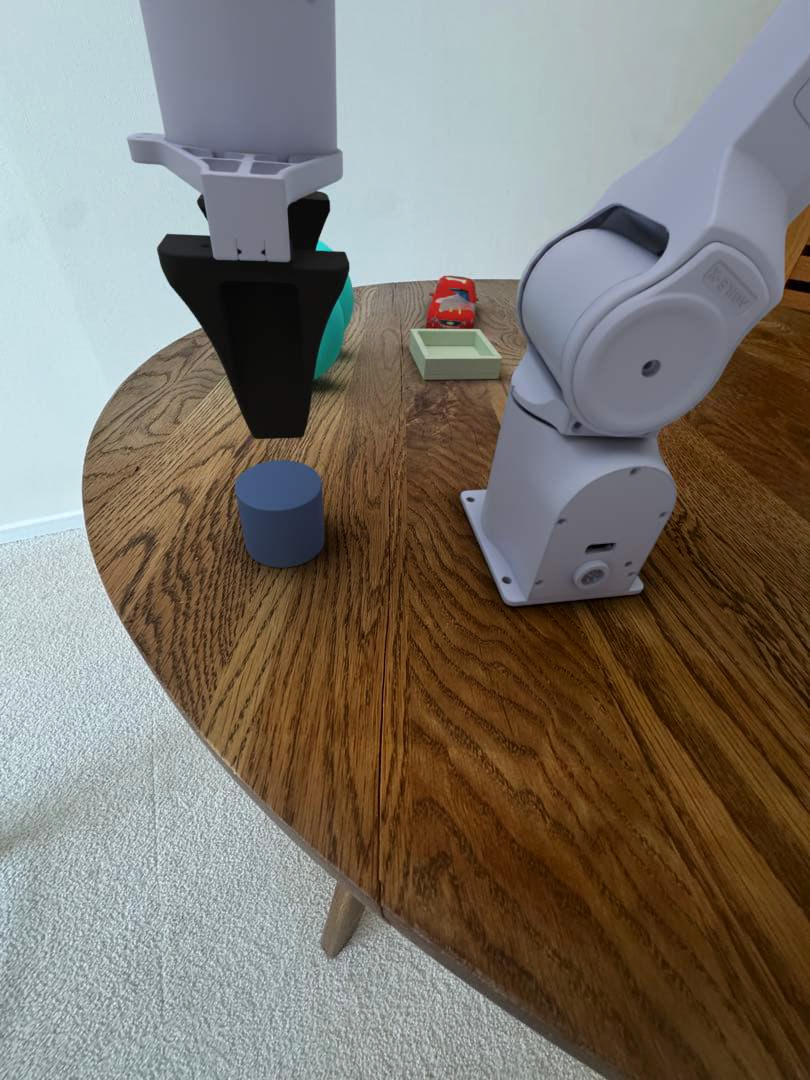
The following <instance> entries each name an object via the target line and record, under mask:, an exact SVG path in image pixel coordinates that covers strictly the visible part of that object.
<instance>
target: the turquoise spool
mask: <svg viewBox="0 0 810 1080" xmlns="http://www.w3.org/2000/svg"><path fill="white" fill-rule="evenodd" d="M316 251H334V250H333V249H332V248H331V247H329V245H327V244H326V243H325V242H323V241H322V240H320V239H319V241H318V244H317V247H316ZM354 296H355V294H354V287H353V284H352V280H351V277H350V274H348V277H347V280H346V283H345V286H344V289H343V291H342V293H341V295H340V297H339V299H338V300H337V302H336V304H335V306H334V308H333V311H332V313H331V315H330V317H329V320H328V323H327V325H326V328H325V331H324V334H323V337H322V341H321V344H320V348H319V353H318V357H317V362H316V368H315V375H314V381H315V380H317V379H319V378H320V377H322V376H323V375H324V374H326V373H327V372H328V371H329V370H330V369H331V368H332V367H333V365H334V364H335V362H336V361H337V359H338V357H339V355H340V353H341V351H342V347H343V344H344V338H345V333H346V331H347V329H348V327H349V325H350V324H351V323H350V322H351V320H352V317H353V313H354V306H355V297H354Z"/></svg>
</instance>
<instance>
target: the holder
mask: <svg viewBox="0 0 810 1080" xmlns="http://www.w3.org/2000/svg"><path fill="white" fill-rule="evenodd" d="M408 340H409V341H408V350H409V352H410V354H411V357H412V359H413V361H414V362H415V364H416V367H417V369H418V371H419V374H420V376H421V377H422V379H423V381H430V380H431V381H434V380H435V381H438V380H443V381H444V380H448V381H449V380H499V378H500V373H501V367H502V363H503V357H502V356H501V354H500V353H499V352H498V350H497V349H496V348H495V346H494V345H493V344H492V343H491V342H490V340H489V338H487V336H486V334H484V333H483V331H482V329H480V328H473V329H426V328H410V329H409V339H408Z"/></svg>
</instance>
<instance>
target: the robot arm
mask: <svg viewBox="0 0 810 1080" xmlns="http://www.w3.org/2000/svg"><path fill="white" fill-rule="evenodd" d="M139 6H140V7H139V8H140V11H141V16H142V21H143V27H144V32H145V38H146V43H147V47H148V53H149V59H150V62H151V68H152V74H153V78H154V80H153V81H154V85H155V89H156V94H157V98H158V99H157V100H158V104H159V110H160V116H161V120H162V126H163V131H164V133H157V132H155V133H153V132H135V133H132V134H130V135H128V136H127V137H126V140H127V145H128V150H129V154H130V158H131V161H132V162H133V163H136V164H145V165H156V166H162V167H163V168H164V167H165V169H167V170H169V172H171V173H172V174H174V175H175V176H177V177H178V178H179V179H181V180H182V181H183V182H185V183H186V184H187V185H189V186H190V187H191V188H193V189H194V190H195V191H197V192H198V193H200V195H199V197H198V198H197V200H196V204H197V206H198V208H199V210H200V211H201V213H202V214H203V216H204V218H205V219H206V221H207V224H208V225H207V226H208V231H209V235H208V234H207V235H206V234H205V235H204V234H185V233H184V234H183V233H182V234H181V233H166V234H165V236H164V237H163V238H162V239H161V241H160V242H159V244H158V245H157V247H156V251H157V256H158V260H159V265H160V268H161V270H162V272H163V275H164V277H165V279H166V281H167V283H168V285H169V286H170V287H171V289H173V291H174V292H175V293H176V294H177V296H178V297H179V298H180V299H181V300H182V302H183V303H184V304H185V305H186V306H187V308H188V309H189V311H190V312H191V314H192V315H193V316H194V318H195V319H196V321H197V322H198V324H199V325H200V327H201V329H202V331H204V333H205V335H206V337H207V338H208V340H209V342H210V344H211V346H212V347H213V349H214V351H215V353H216V354H217V357H218V359H219V361H220V363H221V366H222V367H223V370H224V373H225V375H226V377H227V380H228V383H229V385H230V387H231V390H232V392H233V396H234V397H235V400H236V403H237V405H238V408H239V411H240V413H241V416H242V418H243V420H244V422H245V424H246V427H247V428H248V430H249V432H250V434H251V436H252V438H254V439H255V440H276V439H279V440H280V439H301V438H304V436H305V433H306V430H307V426H308V422H309V417H310V412H311V404H312V397H313V389H314V381H315V380H314V375H315V368H316V362H317V357H318V353H319V348H320V344H321V341H322V337H323V334H324V331H325V328H326V325H327V323H328V320H329V317H330V315H331V313H332V311H333V308H334V306H335V304H336V302H337V300H338V299H339V297H340V295H341V293H342V291H343V289H344V286H345V283H346V280H347V277H348V274H349V273H350V269H351V268H350V261H349V258H348V255H347V253H346V251H339V250H333V251H316V247H317V244H318V241H319V240H320V237H321V235H322V232H323V229H324V227H325V224H326V221H327V219H328V217H329V214H330V213H331V200H330V196H329V195H328V194H327V193H326V192H323V191H320V190H322V189H324V188H326V187H328V186H330V185H332V184H335V183H337V182H339V181H341V179H343V176H344V157H343V156H344V153H343V151H342V150H341V149H340V148H338V111H337V110H338V109H337V108H338V107H337V105H338V104H337V103H338V101H337V100H338V99H337V98H338V97H337V36H336V35H337V33H336V32H337V31H336V26H337V25H336V0H139ZM808 206H810V0H783V1H782V3H781V4H780V5H779V6H778V8H777V9H776V10H775V11H774V12H773V14H772V15H771V16H770V18H769V19H768V20H767V21H766V23H765V24H764V25H763V27H762V28H761V29H760V30H759V31H758V33H757V34H756V35H755V36H754V38H753V39H752V40H751V42H750V43H749V44H748V45H747V47H746V48H745V49H744V50H743V52H742V53H741V54H740V56H738V58H737V59H736V61H734V63H733V64H732V66H731V67H729V70H728V71H727V72H726V73H725V75H724V76H723V77H722V78H721V79H720V80H719V82H718V83H717V84H716V85H715V87H714V88H713V89H712V91H711V92H710V93H709V95H707V97H706V99H704V101H702V104H700V106H699V107H698V109H697V110H696V111H695V112H694V114H693V115H692V116H691V117H690V119H689V120H688V121H687V122H686V123H685V125H684V126H683V128H682V129H681V130H680V131H679V132H678V134H677V135H676V136H675V137H674V138H673V139H671V140H670V141H669V142H668V143H666V144H665V145H663V147H661V148H660V149H658V150H657V151H655V152H654V153H652V154H651V155H649V156H648V157H646V158H645V159H643V160H642V161H640V162H639V163H637V164H636V165H635V166H633V167H631V168H630V169H629V170H628V171H625V173H623V174H622V175H620V176H619V177H617V178H616V179H615V180H614V181H613V182H612V183H611V184H610V185H609V186H608V188H607V189H606V190H605V191H604V193H603V194H602V195H601V196H600V198H599V199H598V200H597V202H596V203H595V204H594V205H593V206H592V208H591V209H589V211H587V212H586V213H585V214H584V215H583V216H582V217H581V218H580V219H578V220H577V221H575V222H574V223H571V225H569V226H567V227H565V228H563V229H561V230H560V231H558V232H556V233H554V234H553V235H552V236H551V237H550V238H548V239H547V240H546V241H544V242H543V243H542V245H541V246H540V247H539V248H538V249H537V250H536V251H535V252H534V253H533V255H532V256H531V258H530V259H529V261H528V262H527V264H526V266H525V268H524V270H523V272H522V274H521V277H520V278H519V282H518V286H517V290H516V295H515V312H516V313H515V314H516V319H517V323H518V326H519V328H520V330H521V332H522V334H523V335H524V337H525V338H526V339H527V345H526V349H525V352H524V355H523V357H522V359H521V360H520V361H519V363H518V365H517V366H516V368H515V369H514V371H513V372H512V375H511V379H510V382H509V383H510V384H509V388H508V392H507V397H506V402H505V406H504V410H503V415H502V419H501V423H500V428H499V433H498V437H497V442H496V446H495V451H494V455H493V460H492V464H491V468H490V473H489V477H488V480H487V486H486V489H473V490H470V489H469V490H463V491H461V492H460V495H459V500H460V502H461V504H462V507H463V509H464V512H465V514H466V517H467V519H468V521H469V524H470V526H471V528H472V530H473V533H474V536H475V538H476V541H477V543H478V546H479V548H480V549H481V553H482V554H483V557H484V559H485V562H486V563H487V566H488V568H489V571H490V573H491V576H492V578H493V580H494V582H495V585H496V588H497V591H498V592H499V594H500V597H501V600H502V601H503V603H505V604H506V605H507V606H510V607H519V606H531V605H539V604H549V603H550V604H551V603H559V602H570V601H580V600H589V599H590V600H591V599H600V598H610V597H611V598H612V597H619V596H630V595H638V594H640V593H641V592H642V591H643V589H644V586H645V585H644V583H643V582H642V580H641V579H640V577H639V574H640V571H641V569H642V568H643V566H644V565H645V562H646V561H647V559H648V557H649V555H650V553H651V551H652V550H653V548H654V546H655V545H656V543H657V541H658V539H659V536H660V535H661V534H662V531H663V530H664V528H665V526H666V524H667V522H668V521H669V519H670V517H671V515H672V513H673V511H674V509H675V505H676V502H677V496H678V491H677V485H676V481H675V480H674V477H673V475H672V474H671V472H670V470H669V469H668V467H667V466H666V464H665V461H664V459H663V458H662V457H663V456H662V455H661V453H660V448H659V442H658V436H659V435H660V432H661V431H662V428H665V427H666V426H668V425H670V424H672V423H673V422H675V421H677V420H679V419H681V418H682V417H683V416H685V415H687V413H689V412H690V411H691V410H693V408H695V407H696V406H697V405H698V404H699V403H701V402H702V401H703V399H705V398H706V396H707V395H708V394H709V393H710V391H711V390H713V388H714V386H715V385H716V384H717V382H718V381H719V380H720V379H721V376H722V374H723V373H724V371H725V369H726V367H727V365H728V364H729V361H730V360H731V358H732V356H733V354H734V353H735V351H736V350H737V348H738V347H739V345H740V344H741V343H742V341H743V340H744V339H745V337H747V335H748V334H749V333H750V332H751V331H752V330H753V329H754V328H755V327H756V326H757V324H758V323H759V322H760V321H762V320H763V319H764V317H766V316H767V315H768V314H769V313H770V312H771V311H772V310H773V309H774V308H775V307H777V305H778V304H780V303H781V301H782V299H783V296H784V290H785V284H786V283H785V281H786V280H785V279H786V274H785V273H786V235H787V230H788V227H789V226H790V225H791V223H792V222H793V221H794V220H795V219H796V218H798V216H799V215H800V214H801V213H802V212H803V211H804V210H805V209H806V208H807V207H808ZM349 275H350V274H349Z"/></svg>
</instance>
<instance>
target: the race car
mask: <svg viewBox="0 0 810 1080" xmlns="http://www.w3.org/2000/svg"><path fill="white" fill-rule="evenodd" d="M477 295H478V294H477V288H476V284H475V282H474V281H473V280H472V279H471V278H470V277H466V276H458V275H443V276H442V277H440V278H439V279H438V281H437V283H436V284H435V286H434V289H433V292H432V291H431V292H429V293H428V296H429V297H431V299H430V302H429V307H428V309H427V313H426V314H427V315H426V326H425V329H474V326H475V321H476V308H477V307H476V305H477V302H479V301H480V298H479V297H477Z"/></svg>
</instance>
